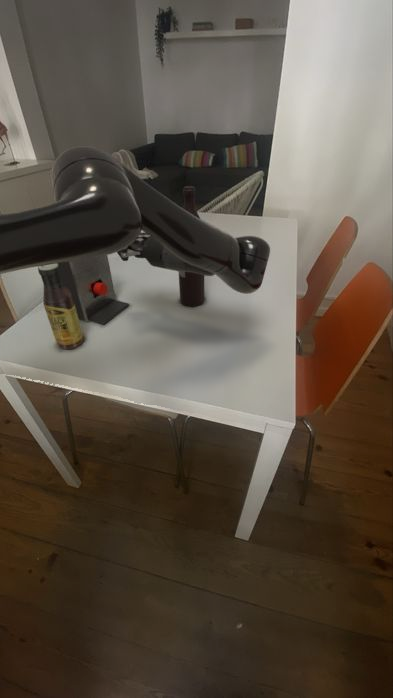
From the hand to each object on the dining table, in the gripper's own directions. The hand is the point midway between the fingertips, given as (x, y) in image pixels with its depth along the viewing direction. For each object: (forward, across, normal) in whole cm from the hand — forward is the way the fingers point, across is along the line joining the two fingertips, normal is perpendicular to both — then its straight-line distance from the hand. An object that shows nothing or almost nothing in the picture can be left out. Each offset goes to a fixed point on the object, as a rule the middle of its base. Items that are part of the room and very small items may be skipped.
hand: (108, 240), depth 73 cm
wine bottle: (-13, -16, +21) cm, 29 cm away
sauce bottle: (+4, +15, +21) cm, 26 cm away
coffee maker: (+11, 0, +21) cm, 24 cm away
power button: (+6, 0, +15) cm, 17 cm away
